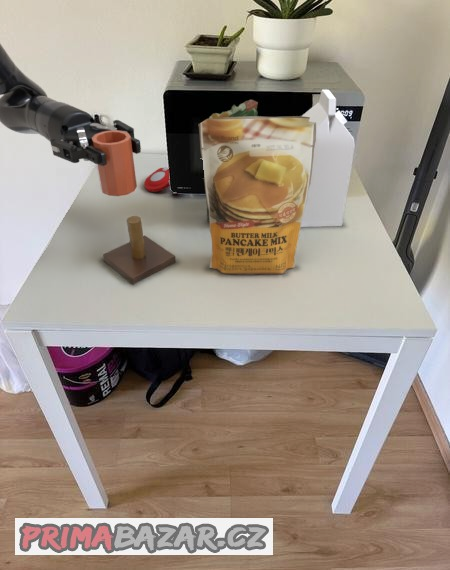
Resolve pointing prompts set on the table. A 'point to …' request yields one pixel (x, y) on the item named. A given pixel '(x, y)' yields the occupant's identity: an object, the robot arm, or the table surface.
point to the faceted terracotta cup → (116, 163)
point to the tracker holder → (158, 180)
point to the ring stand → (138, 254)
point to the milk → (328, 165)
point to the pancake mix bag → (256, 189)
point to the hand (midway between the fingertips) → (121, 153)
